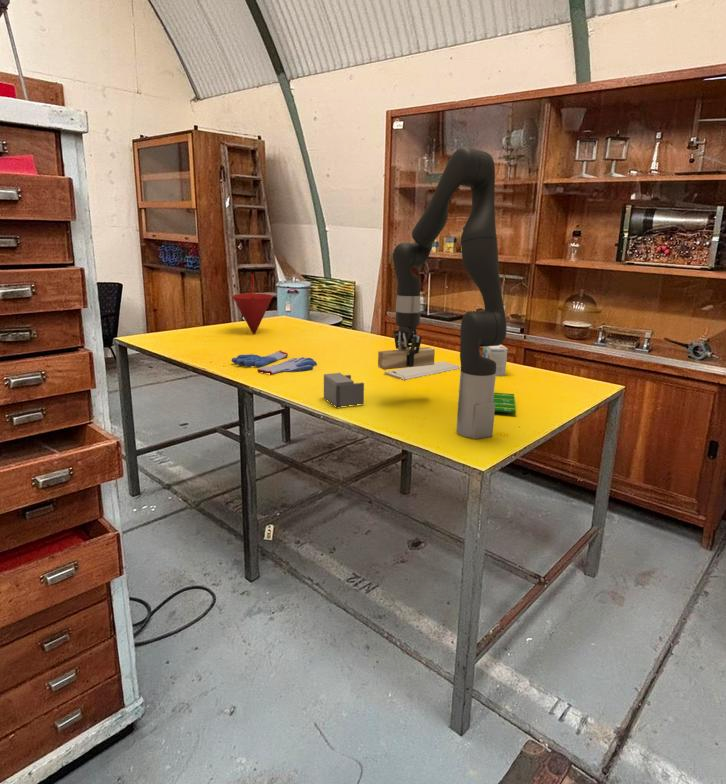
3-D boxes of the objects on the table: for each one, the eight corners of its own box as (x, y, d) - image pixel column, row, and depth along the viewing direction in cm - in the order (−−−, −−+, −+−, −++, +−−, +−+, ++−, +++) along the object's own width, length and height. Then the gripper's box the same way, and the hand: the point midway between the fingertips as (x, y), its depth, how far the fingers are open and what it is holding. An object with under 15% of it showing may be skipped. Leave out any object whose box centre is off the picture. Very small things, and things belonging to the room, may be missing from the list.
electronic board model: (517, 394, 169) (465, 390, 172) (515, 417, 170) (463, 412, 174) (514, 370, 196) (470, 367, 200) (512, 389, 198) (468, 386, 202)
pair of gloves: (327, 367, 226) (327, 358, 225) (278, 379, 207) (278, 370, 206) (273, 354, 245) (273, 346, 244) (224, 364, 226) (223, 355, 225)
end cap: (363, 404, 179) (364, 380, 176) (336, 408, 175) (336, 383, 173) (349, 395, 188) (349, 371, 186) (323, 398, 184) (323, 374, 182)
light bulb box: (480, 369, 225) (482, 342, 222) (497, 369, 226) (499, 342, 223) (488, 376, 215) (490, 348, 212) (505, 376, 216) (508, 348, 213)
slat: (434, 364, 182) (434, 349, 181) (383, 369, 175) (384, 353, 174) (427, 362, 186) (428, 347, 185) (377, 367, 178) (378, 351, 177)
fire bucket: (233, 331, 292) (230, 271, 284) (271, 330, 297) (270, 271, 288) (234, 339, 272) (231, 275, 264) (276, 338, 277) (274, 275, 268)
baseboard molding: (464, 371, 225) (441, 364, 234) (464, 363, 224) (442, 358, 233) (405, 383, 206) (384, 376, 215) (406, 375, 205) (384, 368, 214)
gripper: (430, 312, 171) (428, 368, 176) (407, 307, 184) (405, 359, 188) (409, 313, 168) (407, 370, 173) (386, 307, 180) (385, 361, 185)
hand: (406, 364), depth 180 cm, fingers closed on slat, 4 cm apart
